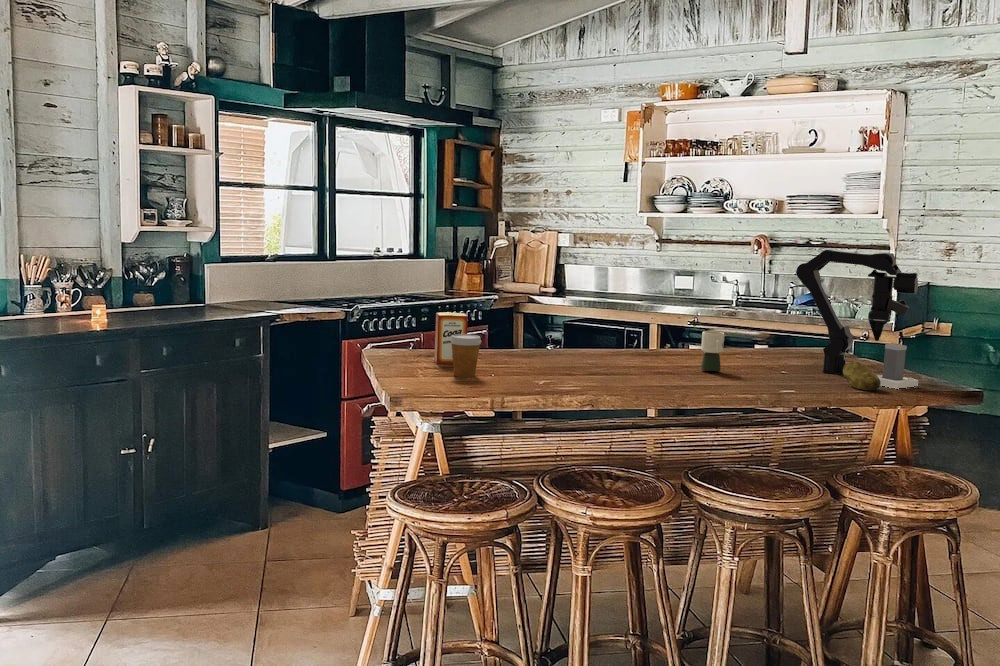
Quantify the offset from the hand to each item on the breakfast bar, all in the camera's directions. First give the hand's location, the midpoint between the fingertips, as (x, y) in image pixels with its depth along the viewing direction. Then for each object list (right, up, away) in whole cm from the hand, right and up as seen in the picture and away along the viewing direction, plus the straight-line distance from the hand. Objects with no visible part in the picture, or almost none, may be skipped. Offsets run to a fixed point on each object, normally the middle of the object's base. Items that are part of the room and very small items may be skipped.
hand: (877, 339), depth 322 cm
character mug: (-55, -11, +1) cm, 56 cm away
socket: (+1, -15, -10) cm, 17 cm away
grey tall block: (+1, -14, -10) cm, 17 cm away
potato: (-12, -15, -17) cm, 26 cm away
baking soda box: (-140, -8, -2) cm, 140 cm away
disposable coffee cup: (-135, -11, -24) cm, 137 cm away
